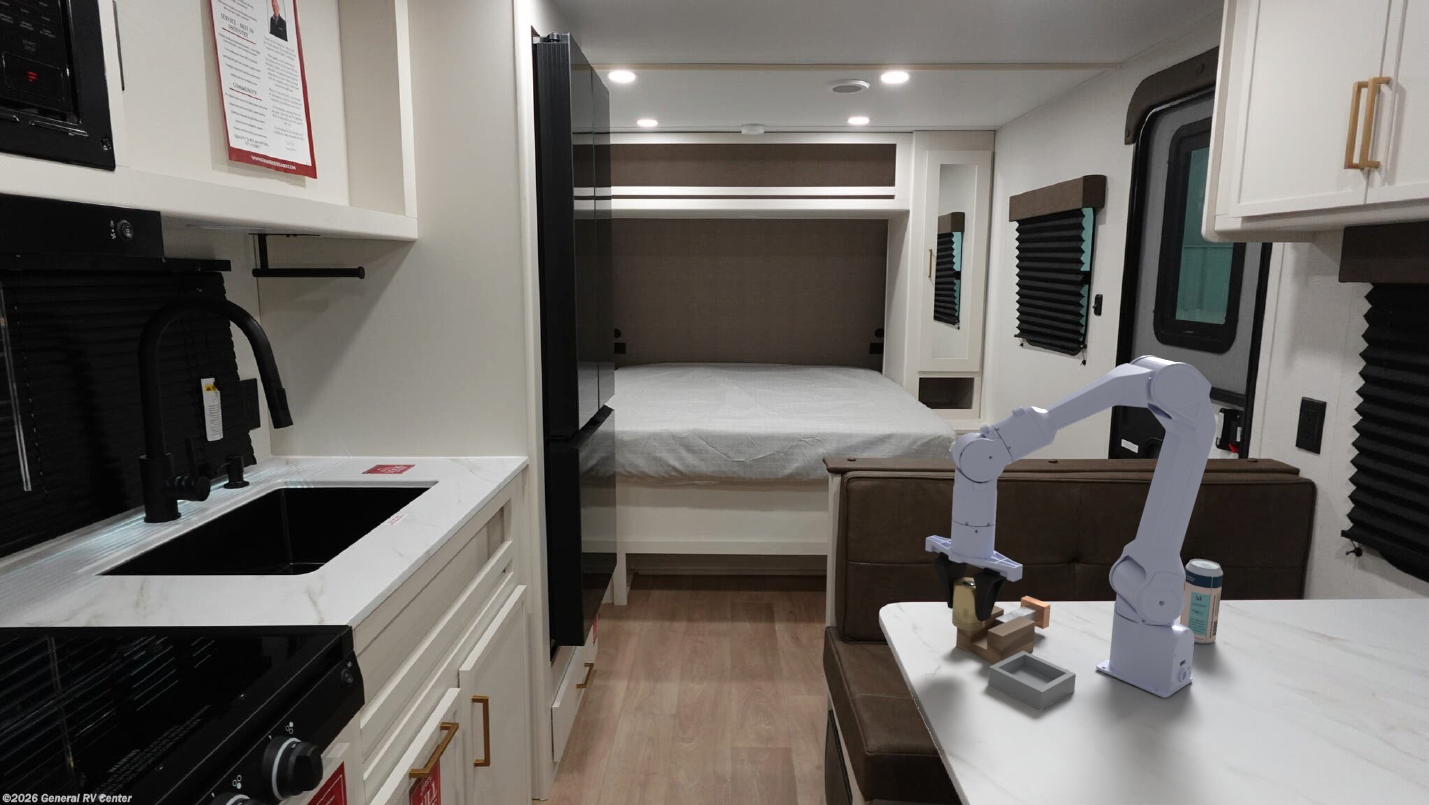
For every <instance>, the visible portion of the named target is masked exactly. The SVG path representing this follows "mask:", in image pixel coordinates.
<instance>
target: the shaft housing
mask: <svg viewBox="0 0 1429 805" xmlns="http://www.w3.org/2000/svg"><path fill="white" fill-rule="evenodd" d="M1002 615H1005V609H1004V608H1002V607H999V606H997V605H994V607H993V610H992V614H991V617H990V619H987V620H985V627H984V628H983V629H981V630H978V631H968V630H963V629H960V628H958V627H956V640H955V641H956V642H955V646H956V647H958V648H960V649H963V650H964V651H966V652H969V653H970V654H973V655H975V656H977V657H979V658H981V659H983V660H985V661H987V662H990V663H992V664H993V665H994V664H996V663H998V662H1000V661H1002V660H1005V659H1007V658H1009V657H1011V656H1013V655H1015V654H1017V653H1019V652H1021V651H1025V652H1027V653H1030V654H1031V653H1032V652H1034V646H1035V645H1034V643H1035V642H1034V641H1035V630H1036V626H1035V621H1032V620H1030V619H1027V618H1025V617H1022V616H1019V617H1017V618H1015V619H1012V620H1010V621H1008V622H1005V623H1003V624H1001V625H998V626H996V627H995V618H998V617H1000V616H1002Z"/></svg>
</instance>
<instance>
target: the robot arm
mask: <svg viewBox="0 0 1429 805" xmlns="http://www.w3.org/2000/svg"><path fill="white" fill-rule="evenodd" d="M1211 389H1212V384H1211V383H1210V381H1209V380H1207V378H1206V377H1205V376H1204V375H1203V374H1202V373H1201V372H1200V371H1199V369H1197V368H1196V367H1195V366H1194V365H1192V364H1189V363H1186V362H1175V361H1172V360H1167V359H1163V358H1161V357H1159V356H1155V355H1142V356H1138V357H1136V358H1135V359H1133V360H1131V361H1130V362H1129V363H1123V364H1120V365H1118V366H1116V367H1115V368H1113V369H1111V370H1110V371H1108V372H1107V373H1106V374H1104V375H1103V376H1100V377H1098V378H1097V379H1095V380H1093V381H1092V382H1090V383H1088V384H1087V385H1084V386H1083V387H1080V388H1078V389H1077V390H1075V391H1073V392H1072V393H1070V394H1068V395H1067V396H1065V397H1063V398H1061V399H1059V400H1058V401H1055V402H1054V403H1052V404H1051V405H1049V406H1047V407H1045V408H1040V407H1037V406H1033V405H1032V406H1031V405H1030V406H1029V405H1028V406H1027V407H1025V408H1024V407H1022V406H1020V405H1018V406H1017V407H1015V408H1013V409H1011V412H1012V414H1011V415H1009V416H1007V417H1004V418H1003V419H1001V420H999V421H997V422H995V423H993V424H991V425H987V424H984V425H982V426H980V427H979V430H980V432H968V433H965V434H963V435H960V437H958V439H956V442H955V443H954V444H953V447H952V449H951V450H950V451H949V454H950V459H951V461H952V464H954V466H955V467H956V468H955V469H954V470H955V471H954V485H953V489H952V490H953V491H952V510H951V528H950V529H951V532H950V533H951V534H950V538H946V537H943V536H938V535H936V534H935V535H932V536H928V537H926V538H925V551H926V552H930V553H932V552H936V553H938V554H939V555H938V556H937V557H938V558H934V559H933V561H932V565H933V568H934V569H935V571H936V572H937V575H938V576H939V579H940V581H941V584H942V587H943V590H944V594H945V598H946V599H945V600H946V603H947V608H948V609H951V610H952V609H953V589H954V580H955V579H958V578H965V574H966V570H967V566H968V564H970V565H971V566H974V567H976V568H977V567H978V568H980V569H983V570H982V571H980V572H977V573H974V574H973V575H972V578H973V579H974V582H975V586H976V592H977V620H979V621H981V622H983V621H985V620H987V619H990V617H991V614H992V610H993V607H994V605H995V604H996V602H997V599H998V597H999V596H1000V593H1001V592H1002V590H1003V588H1004V587H1005V586H1006V584H1007V583H1008V581H1010V582H1017V581H1019V580H1022V578H1023V567H1024V566H1023V564H1021V563H1018V562H1016V561H1013V560H1012V559H1010V558H1008V557H1006V556H1004V555H1003V554H1001V553H999V552H998V551H996V550H995V538H996V535H995V534H996V520H997V519H996V518H997V514H996V513H997V501H998V500H997V498H998V490H997V489H998V488H997V487H998V486H997V485H998V478H999V477H1000V476H1001V474H1002V473H1003V471H1004V470H1005V468H1006V466H1007V465H1008V466H1009V465H1010V464H1012V463H1015V462H1017V461H1019V460H1021V459H1023V458H1025V457H1028V456H1029V455H1031V454H1034V453H1035V452H1037V451H1040V450H1041V449H1043V448H1045V447H1047V446H1050V445H1052V444H1053V442H1054V440H1055V437H1056V435H1057V433H1058V431H1060V430H1061V429H1064V428H1067V427H1069V426H1071V425H1073V424H1075V423H1077V422H1078V423H1079V421H1082V420H1085V419H1087V418H1090V417H1091V416H1093V415H1096V414H1099V413H1102V411H1105V410H1108V409H1110V408H1112V407H1115V406H1123V407H1124V406H1126V407H1136V408H1147V409H1148V410H1149V411H1151V413H1152V414H1153V415H1154V417H1155V418H1156V420H1158V422H1159V423H1160V425H1161V426H1162V427H1163V428H1164V430H1165V433H1164V434H1165V435H1164V438H1163V441H1162V443H1161V444H1162V445H1161V448H1160V451H1159V456H1158V459H1157V462H1156V466H1155V470H1154V473H1153V477H1152V480H1151V483H1150V487H1149V490H1148V494H1147V498H1146V500H1145V505H1144V507H1143V511H1142V515H1141V517H1140V522H1139V526H1138V528H1137V533H1136V536H1135V539H1134V540H1132V541H1130V542H1129V543H1128V544H1126V545H1125V546H1124V547H1123V551H1122V553H1121V555H1120V557H1119V558H1118V559H1117V560H1116V562H1115V563H1114V564H1113V565H1112V566H1111V568H1110V571H1109V575H1108V576H1109V577H1108V580H1109V584H1110V586H1111V588H1112V589H1113V590H1114V592H1115V593H1116V599H1115V601H1114V604H1113V605H1114V608H1113V616H1112V617H1113V618H1112V629H1111V630H1112V631H1111V639H1110V641H1111V642H1110V652H1109V658H1108V659H1106V660H1103V661H1102V662H1100V663H1098V664H1097V665H1096V666H1095V669H1096V670H1097V671H1100V672H1102V673H1105V674H1106V675H1109V676H1112V677H1114V678H1115V679H1119V680H1121V681H1123V682H1126V683H1127V684H1130V685H1133V686H1135V687H1137V688H1140V689H1141V690H1144V691H1147V692H1149V693H1151V694H1154V695H1155V696H1158V697H1161V698H1165V699H1167V698H1169V697H1170V696H1172V695H1173V694H1174V693H1176V692H1177V691H1179V690H1181V689H1183V688H1184V687H1185V686H1186V685H1188V684H1190V683H1191V682H1193V677H1192V668H1193V658H1194V651H1195V650H1194V648H1195V642H1194V633H1193V631H1192V630H1191V629H1189V628H1187V627H1185V626H1183V625H1182V624H1180V621H1177V619H1178V618H1179V617H1181V614H1182V612H1183V610H1184V608H1185V605H1186V598H1185V594H1184V582H1185V578H1186V574H1185V567H1184V565H1183V562H1182V558H1181V556H1180V554H1181V550H1182V547H1183V543H1184V540H1185V538H1186V534H1187V529H1188V527H1189V523H1190V519H1191V516H1192V512H1193V510H1194V507H1195V503H1196V499H1197V496H1198V493H1199V490H1200V486H1201V483H1202V479H1203V477H1204V476H1203V475H1204V473H1205V469H1206V466H1207V463H1208V459H1209V456H1210V453H1211V449H1212V446H1213V442H1214V439H1215V436H1216V433H1217V426H1218V425H1217V420H1216V417H1215V413H1214V409H1213V405H1212V401H1211V398H1210V393H1211V391H1212V390H1211ZM995 606H996V605H995Z"/></svg>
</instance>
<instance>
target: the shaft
mask: <svg viewBox="0 0 1429 805" xmlns="http://www.w3.org/2000/svg"><path fill="white" fill-rule="evenodd" d="M1019 616H1022V617H1025V618H1027V619H1030V620H1032V621H1035V628H1039V629H1041V630H1044V629H1046V628H1048V627H1050V618H1051V604H1050V603H1048V602H1045V601H1041V600H1039V599H1037V598H1034V597H1031V596H1028V595H1025V596H1023V597H1021V598H1020V607H1019V608H1017V609H1014V610H1012V611H1010V612H1008V613H1004V615H1002V616H1000V617H998V618H995V627H996V626H998V625H1001V624H1003V623H1005V622H1008V621H1010V620H1012V619H1015V618H1017V617H1019Z"/></svg>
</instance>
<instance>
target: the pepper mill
mask: <svg viewBox="0 0 1429 805" xmlns="http://www.w3.org/2000/svg"><path fill="white" fill-rule="evenodd" d="M951 610H952V613H951V614H952V615H951V623H952V625H953V626H954V627H956V628H957V627H958V628H960V629H963V630H968V631H978V630H981V629H983V628H984V627H985V621H983V622H981V621H979V620H977V592H976V586H975V582H974V579H973V577H965V576H964V578H958V579H955V580H954V589H953V609H951Z"/></svg>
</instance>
